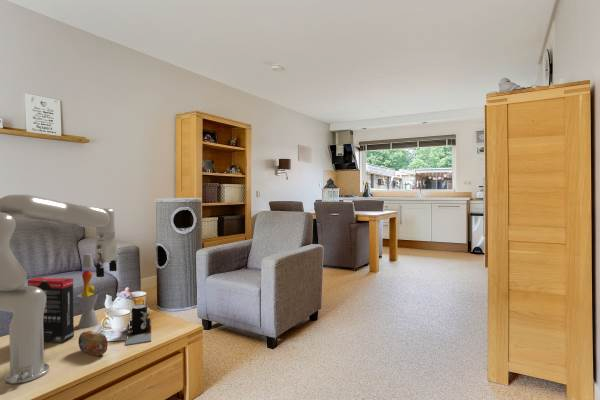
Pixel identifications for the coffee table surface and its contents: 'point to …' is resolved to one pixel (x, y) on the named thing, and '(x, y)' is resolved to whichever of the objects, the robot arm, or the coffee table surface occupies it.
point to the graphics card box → (56, 308)
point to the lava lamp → (87, 296)
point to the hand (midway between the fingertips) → (106, 273)
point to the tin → (92, 343)
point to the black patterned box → (147, 324)
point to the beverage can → (139, 319)
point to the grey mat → (138, 339)
